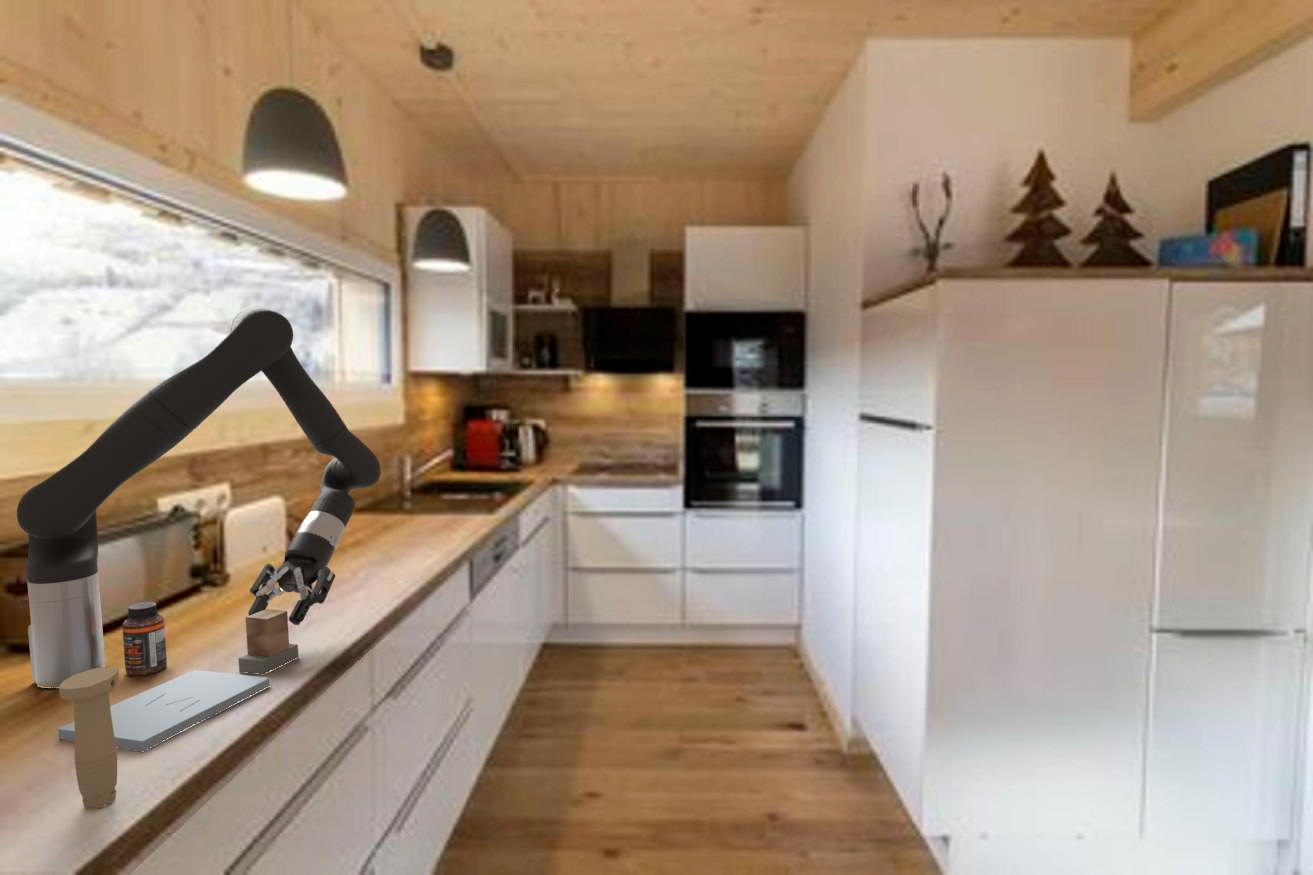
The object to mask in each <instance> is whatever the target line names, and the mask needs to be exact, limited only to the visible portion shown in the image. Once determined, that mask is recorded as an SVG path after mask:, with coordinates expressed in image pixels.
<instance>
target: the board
mask: <svg viewBox="0 0 1313 875" xmlns="http://www.w3.org/2000/svg"><path fill="white" fill-rule="evenodd" d="M270 679H271V678H270V677H264V676H263V677H262V676H254V675H246V674H237V673H228V672H219V671H210V670H209V671H208V670H199V669H193V670H191V671H189V672H186V673H184V674H182V675H180V676H177V677H175V678H172V679H169V680H168V681H166V682H163V683H161V684H159V685H156V686H154V687H151V688H149V689H148V690H145V691H142V692H140V693H137V694H136V695H133V696H131V697H129V698H126V699H124V700H122V701H119V702H116V703H114V704H112V705H110V710H111V717H112V724H113V730H114V736H115V743H116V747H118V748H117V749H119V748H122V749H121V750H125V749H129V750H128V751H132V750H137V751H136V752H138V751H145V750H147V749H149V750H151V749H150V747H153V746H154V745H156V744H158V743H160V742H162V741H163V740H166V739H167V738H169V737H171V736H173V735H175V734H177V733H179V732H180V731H183V730H184V729H186V728H188V727H190V726H192V725H193V724H196V723H197V722H201V721H202V720H204V719H207V718H208V717H211V716H213V715H215V714H216V713H219V712H220V711H222V710H224V709H226V708H228V707H229V706H231V705H233V704H235V703H237V702H238V701H241V700H242V699H245V698H247V697H249V696H250V695H253V694H255V693H256V692H259V691H260V690H263V689H264V688H266V687H268V686H270V687H271V682H270ZM219 714H220V713H219ZM215 716H216V715H215ZM213 717H214V716H213ZM211 718H212V717H211ZM207 720H208V719H207ZM201 723H202V722H201ZM57 730H58V739H59V740H60V739H63V740H62V741H66V740H68V741H69V742H74V743H75V724H74V721H73V722H71V723H69V724H66V725H64V726H62V727H59V728H58V729H57ZM68 741H67V742H68ZM166 741H167V740H166ZM162 743H163V742H162ZM153 748H154V747H153ZM147 751H148V750H147ZM145 752H146V751H145Z"/></svg>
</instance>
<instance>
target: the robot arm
mask: <svg viewBox="0 0 1313 875" xmlns="http://www.w3.org/2000/svg"><path fill="white" fill-rule="evenodd" d="M293 340H294V330H293V326H292V325H291V323H290V321H289V320H288V318H287V317H285V316H284V315H283V314H281V313H279V312H277V311H276V310H274V309H270V308H268V307H266V306H265V307H264V306H260V305H256V306H254V305H251V306H247V307H244V308H241V309H240V310H239V311H237V312H236V313H235V315H234V316H233V317H232V318H231V322H230V325H229V334H228V335H227V336H226V337H225V338H224V339H223V340H221V341H220V343H219V344H218V345H216V346H215V347H214V348H213V349H211V351H209V352H208V354H206V355H205V356H203V357H202V358H201V359H199V360H197V361H195V362H194V363H192V364H191V365H188V366H187V367H185V368H183V369H181V370H179V371H177V372H176V373H174V374H172V375H170V376H168V377H167V378H165V379H163V380H161V381H160V382H159V383H157V384H156V385H155V386H153V387H152V388H151V389H149V390H148V391H147V392H145V393H144V394H143V395H142V396H141V397H139V399H137V400H136V401H135V402H133V404H131V405H130V406H129V407H127V409H125V410H124V411H123V412H122V413H121V414H120V415H119V416H118V417H117V418H116V419H115V420H114V421H113V422H112V423H111V424H110V425H109V426H107V427H106V429H105V430H104V431H103V432H102V433H101V434H100V435H99V436H98V437H97V438H96V439H95V441H93V443H92V444H91V445H90V446H88V448H87V449H86V450H84V451H83V452H82V453H81V454H80V455H78V456H77V457H76V458H74V459H73V460H72V461H71V462H68V464H66V465H65V466H64V467H62V468H61V469H59V470H58V471H56V472H55V473H53V474H51V475H50V476H49V477H47V478H46V479H44V480H43V481H41V482H40V483H38V484H36V485H34V486H32V487H30V488H29V489H28V490H26V492H24V494H22V496H21V498H20V499H19V502H18V504H17V508H16V519H17V523H18V524H19V527H20V528H21V529H22V530H23V531H24V532H25V533H26V534H27V535H28V536H27V537H28V556H27V562H26V566H25V568H26V569H25V571H26V581H27V583H26V584H27V591H28V592H27V593H28V601H29V602H28V603H29V604H28V605H29V615H30V624H29V625H28V627H27V633H28V643H29V654H30V665H31V666H30V667H31V678H32V681H33V680H35V681H36V683H35V684H37V685H39V686H43V687H51V688H52V687H53V688H54V687H60V684H61V683H62V682H63V681H64V680H66V679H68V678H69V677H71V676H73V675H76V674H78V673H81V672H84V671H87V670H90V669H95V668H103V667H106V657H105V645H104V644H105V643H104V642H105V641H104V632H103V629H104V628H103V621H102V620H103V618H102V605H101V604H102V603H101V593H100V583H99V582H100V581H99V571H98V570H99V569H98V556H99V539H98V538H99V537H98V523H97V522H98V518H97V509H98V508H99V507H100V506H101V505H102V504H103V503H104V501H105V500H107V499H108V498H109V497H110V496H111V495H112V494H113V493H114V492H115V491H116V490H118V488H119V487H120V486H122V485H123V483H125V482H126V481H128V480H129V479H130V478H132V477H133V476H135V475H136V474H137V473H140V472H141V471H142V470H144V469H145V468H147V467H148V466H150V465H151V464H153V463H154V462H156V461H157V460H159V459H160V458H161V457H163V456H164V455H165V454H167V453H168V452H169V451H171V449H173V448H174V447H176V446H177V445H178V444H179V443H180V442H182V441H183V440H184V439H185V438H186V437H187V436H189V435H190V434H191V433H192V432H193V431H194V430H195V429H196V428H198V427H199V426H200V425H201V424H202V423H203V422H204V421H205V420H206V419H207V418H209V417H210V416H211V414H213V413H214V412H215V411H216V410H217V409H218V408H219V407H220V406H222V404H223V403H224V402H225V401H226V400H228V399H229V397H231V395H232V394H233V393H235V391H236V390H237V389H239V388H240V387H241V386H243V384H245V383H246V382H247V381H249V380H250V379H252V378H253V377H255V376H256V375H258V374H259V373H260V372H262V374H263V375H264V376H265V378H267V380H268V381H269V382H270V384H272V385H271V386H273V388H274V389H275V390H276V391H277V393H278V395H279V396H280V397H281V399H282V400H283V402H284V403H285V405H286V407H287V409H288V410H289V412H290V413H291V415H292V416H293V418H294V419H295V421H296V422H297V424H298V426H299V427H300V429H301V431H302V432H303V434H305V436H306V438H307V439H308V440H309V441H310V443H311V445H312V446H313V447H314V449H315V450H316V451H317V452H318V453H320V454H321V455H327V456H331V457H334V458H333V459H331V460H330V461H329V463H328V464H327V465H326V466H325V468H324V471H323V473H322V474H323V475H322V478H321V483H320V486H319V490H318V491H319V492H318V496H317V498H316V499H315V501H314V504H312V507H311V509H310V511H309V512H308V514H307V515H306V517H305V518H304V519H303V520H302V521H301V523H300V525H299V527H298V529H297V530H296V533H295V534H294V536H293V537H292V540H291V541H290V543H289V545H288V547H286V550H285V552H284V560H283V562H282V563H281V564H280V565H279V566H274V565H272V564H271V563H266V564H265V565H264V567H263V569H262V570H261V571H260V572H259V575H258V576H257V577H256V579H255V581H254V583H253V584H252V586H251V587H250V589H249V592H250V593H251V594H252V595H253V596H254V597H255V599H254V601H253V603H252V605H251V606H250V608H249V610H248V613H247V615H248V616H250V615H252V614H255V613H258V612H260V611H263V610H265V609H267V607H268V605H269V602H270V601H272V600H273V599H274V598H275V597H279V596H282V595H283V594H285V593H293V592H294V593H295V594H296V593H297V594H299V597H300V600H299V599H298V600H297V602H296V604H295V606H294V608H293V610H292V611H291V613H290V616H289V618H288V622H291V624H292V625H295V626H299V625H301V623H302V622H303V621H304V620H305V617H306V616H307V614H308V612H309V610H310V608H311V607H312V606H314V605H315V604H320V605H322V604H323V603H325V601H326V599H327V596H328V594H329V591H330V589H331V588H332V584H333V582H334V581H335V578H336V574H335V573H334V571H333V570H331V569H330V568H329V567H328V565H329V563H330V561H331V559H332V557H333V555H334V554H335V552H336V550H337V548H338V546H339V543H340V541H341V540H342V537H343V533H344V531H345V528H346V527H347V525H348V523H349V521H350V519H351V517H352V515H353V513H354V510H355V509H356V502H355V500H354V498H353V497H352V496H351V495H350V494H349V493H350V492H351V490H356V489H357V490H358V489H364V488H365V489H366V488H369V487H373V486H374V485H376V484H377V483H378V481H379V479H380V477H381V473H382V472H381V470H382V469H381V465H380V462H379V459H378V458H377V456H376V454H375V453H374V452H373V451H372V450H371V449H370V448H369V447H368V446H367V445H366V444H365V443H364V442H363V441H362V440H360V438H358V437H357V435H355V434H354V433H353V432H352V431H350V430H349V428H348V427H347V425H346V424H345V422H344V420H343V419H342V417H341V416H340V414H339V413H338V411H337V410H336V409H335V407H334V405H333V404H332V403H331V401H330V400H329V399H328V397H327V396H326V395H325V394H324V392H323V391H322V390H321V389H320V388H319V386H318V384H316V383H315V381H314V380H313V379H312V378H311V377H310V376H309V374H308V373H307V371H306V370H305V369H304V367H303V365H302V364H301V362H300V361H299V359H298V358H297V356H296V354H295V352H294V351H293V348H292V343H293V342H294V341H293ZM315 582H316V583H315ZM314 583H315V584H314ZM276 584H278V587H277V586H276ZM313 584H314V585H313ZM259 588H260V589H259Z"/></svg>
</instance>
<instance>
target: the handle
mask: <svg viewBox="0 0 1313 875" xmlns="http://www.w3.org/2000/svg"><path fill="white" fill-rule="evenodd" d="M119 677H120V673H119V667H115V666H109V667H108V666H107V667H106V666H105V667H103V668H95V669H90V670H87V671H84V672H81V673H78V674H76V675H73V676H71V677H69V678H68V679H66V680H64V681H63V682H62V683H61V684H60V687H59V688H58V690H59V691H58V692H59V698H60V699H62V700H65V701H70V702H72V704H73V715H74V721H73V722H74V724H75V742H74V765H75V775H76V780H77V786H78V789H79V793H80V795H81V797H82V804H83V807H84V810H87V811H90V810H95V809H94V808H96V810H98V809H97V808H100V809H102V808H103V807H105V806H106V805H105V804H107V805H109V804H108V803H110V802H113V801H116V797H117V790H116V786H117V784H118V783H117V782H118V753H117V752H118V751H117V748H116V743H115V736H114V730H113V724H112V717H111V710H110V706H111V704H110V693H111V692H112V691H113V690H115V688H116V687H117V685H118V683H119ZM113 803H114V802H113ZM110 804H111V803H110ZM104 805H105V806H104ZM102 806H103V807H102ZM101 807H102V808H101Z"/></svg>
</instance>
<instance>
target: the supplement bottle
mask: <svg viewBox="0 0 1313 875" xmlns="http://www.w3.org/2000/svg"><path fill="white" fill-rule="evenodd" d="M127 609H128V610H127V611H128V617H127V618H126V619H125V620H124V621H123V623H122V642H123V655H124V667H125V673H126V675H130V676H133V677H135V676H136V677H138V676H140V677H141V676H148V675H151V674H155V673H158V672H160V671H162V670H164V668H166V667H167V664H168V660H167V659H168V658H167V641H166V627H165V618H164V616H163V615H162V614H160V613H158V607H157V602H153V601H149V602H148V601H145V602H139V603H135V604H132V605H130V606H128V608H127Z"/></svg>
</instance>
